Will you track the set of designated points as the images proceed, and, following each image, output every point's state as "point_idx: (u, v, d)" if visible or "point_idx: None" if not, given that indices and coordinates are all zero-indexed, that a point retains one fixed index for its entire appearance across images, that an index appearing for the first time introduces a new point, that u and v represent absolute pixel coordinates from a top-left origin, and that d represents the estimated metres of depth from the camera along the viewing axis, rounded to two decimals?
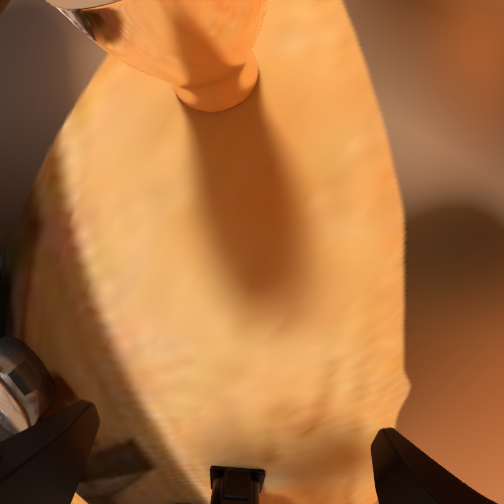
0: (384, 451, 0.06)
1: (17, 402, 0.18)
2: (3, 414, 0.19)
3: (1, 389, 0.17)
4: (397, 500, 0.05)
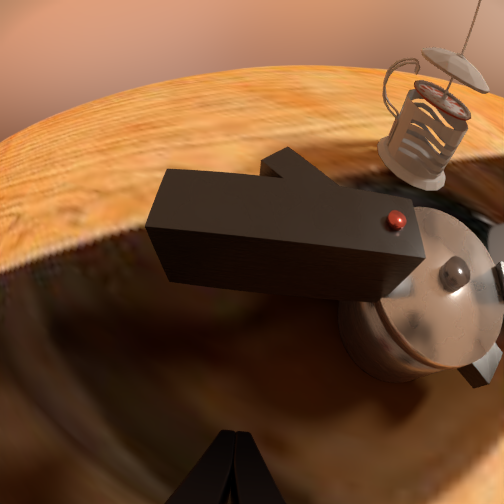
0: None
1: None
2: (443, 299, 0.13)
3: (500, 326, 0.13)
4: None
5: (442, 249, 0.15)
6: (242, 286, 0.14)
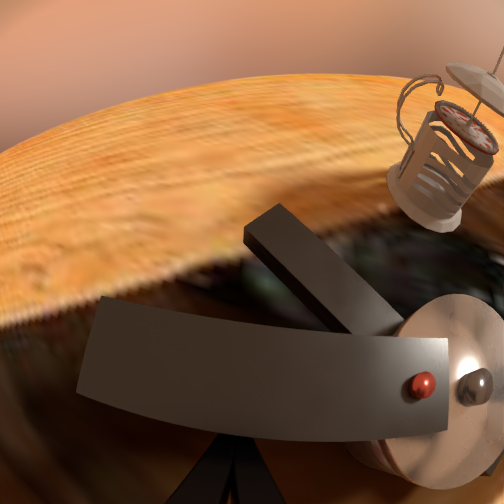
0: None
1: None
2: (456, 418, 0.09)
3: None
4: None
5: (466, 352, 0.11)
6: None
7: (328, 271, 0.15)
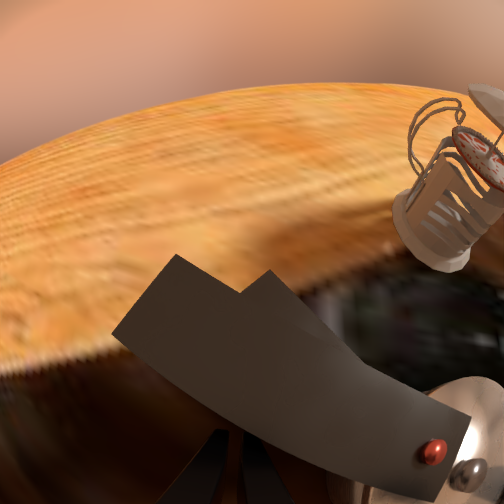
0: (240, 457, 0.06)
1: None
2: (439, 497, 0.07)
3: None
4: None
5: (476, 438, 0.09)
6: None
7: None
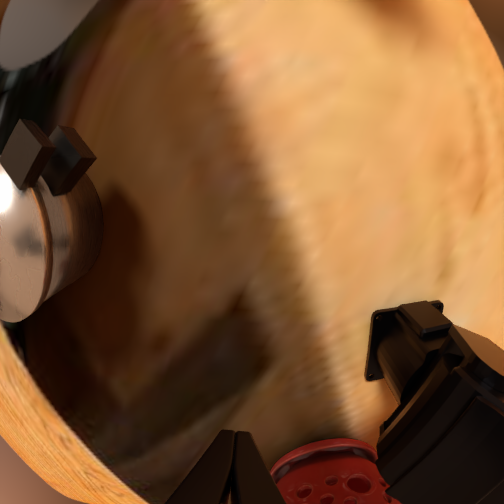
0: None
1: (50, 258, 0.13)
2: None
3: (38, 221, 0.12)
4: None
5: None
6: None
7: None
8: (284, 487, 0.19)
